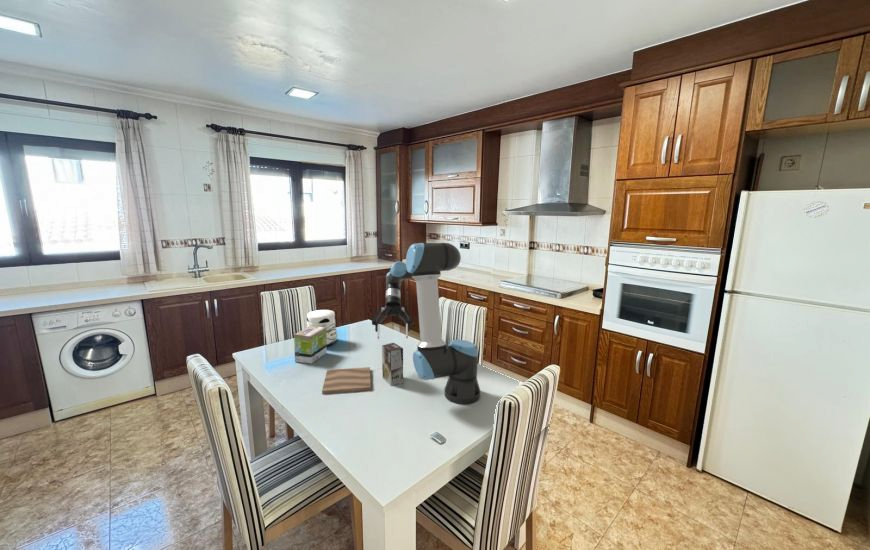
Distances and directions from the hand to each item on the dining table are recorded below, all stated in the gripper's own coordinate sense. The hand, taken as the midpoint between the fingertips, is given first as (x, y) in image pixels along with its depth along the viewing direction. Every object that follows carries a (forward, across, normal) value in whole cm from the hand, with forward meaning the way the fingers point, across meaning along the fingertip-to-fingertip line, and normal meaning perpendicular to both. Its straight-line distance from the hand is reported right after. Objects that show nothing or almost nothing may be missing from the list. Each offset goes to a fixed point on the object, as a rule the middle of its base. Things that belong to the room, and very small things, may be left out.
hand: (392, 337), depth 168 cm
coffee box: (+19, 0, -5) cm, 20 cm away
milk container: (-15, +41, -39) cm, 59 cm away
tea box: (-1, +43, -25) cm, 49 cm away
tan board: (+19, +20, -5) cm, 28 cm away
